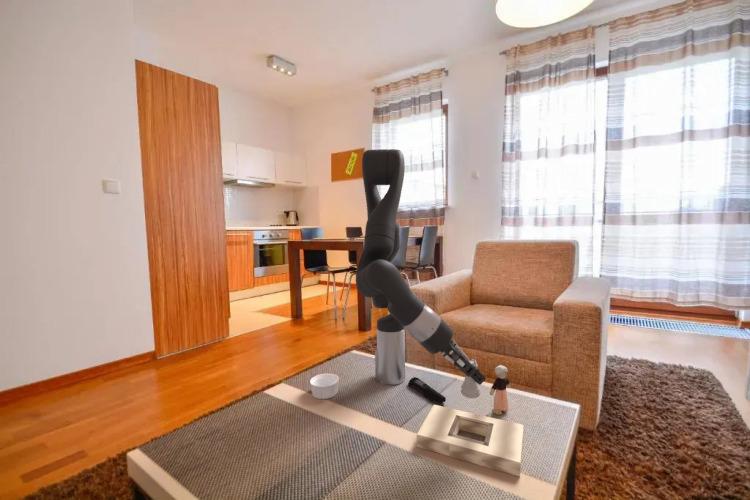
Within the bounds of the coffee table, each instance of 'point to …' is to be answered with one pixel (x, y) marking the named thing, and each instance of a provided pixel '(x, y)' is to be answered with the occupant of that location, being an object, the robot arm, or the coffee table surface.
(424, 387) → the electric trimmer
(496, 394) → the grandmother figurine
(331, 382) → the ramekin
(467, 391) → the rook chess piece
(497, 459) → the socket board
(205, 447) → the coffee table surface
